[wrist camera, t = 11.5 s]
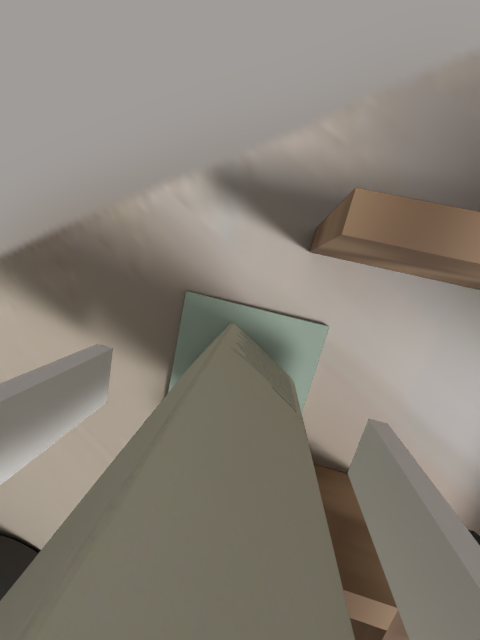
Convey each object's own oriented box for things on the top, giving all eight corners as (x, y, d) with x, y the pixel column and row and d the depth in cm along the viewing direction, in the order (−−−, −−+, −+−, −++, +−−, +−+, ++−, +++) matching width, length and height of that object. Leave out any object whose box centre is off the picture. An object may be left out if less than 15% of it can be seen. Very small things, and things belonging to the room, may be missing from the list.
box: (184, 369, 14) (-405, 1020, 2) (234, 318, 13) (-323, 994, 1) (248, 430, 15) (100, 1380, 2) (302, 383, 14) (650, 1704, 1)
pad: (166, 413, 15) (164, 415, 15) (187, 291, 14) (185, 291, 13) (288, 449, 15) (289, 452, 15) (327, 325, 13) (329, 326, 13)
